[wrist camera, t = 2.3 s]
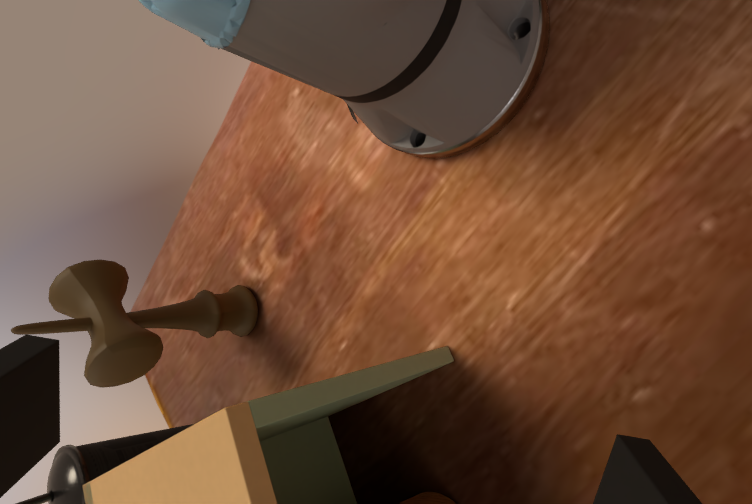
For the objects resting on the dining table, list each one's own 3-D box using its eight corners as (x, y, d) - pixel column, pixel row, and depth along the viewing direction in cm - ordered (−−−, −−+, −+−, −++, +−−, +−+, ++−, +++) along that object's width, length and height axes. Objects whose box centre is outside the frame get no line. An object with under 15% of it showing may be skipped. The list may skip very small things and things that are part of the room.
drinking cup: (178, 424, 56) (-43, 487, 40) (210, 398, 52) (-19, 456, 36) (197, 489, 53) (-31, 584, 37) (233, 467, 49) (-5, 562, 34)
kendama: (235, 258, 50) (4, 254, 34) (282, 320, 45) (40, 349, 30) (214, 300, 52) (-13, 315, 36) (257, 364, 48) (17, 413, 32)
